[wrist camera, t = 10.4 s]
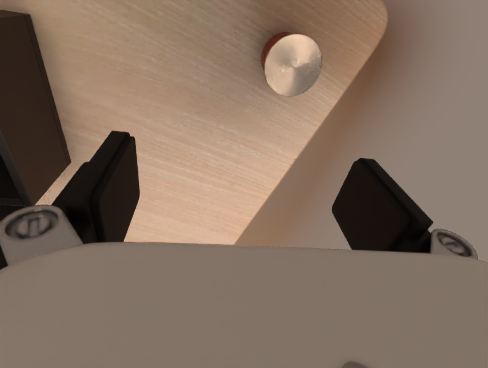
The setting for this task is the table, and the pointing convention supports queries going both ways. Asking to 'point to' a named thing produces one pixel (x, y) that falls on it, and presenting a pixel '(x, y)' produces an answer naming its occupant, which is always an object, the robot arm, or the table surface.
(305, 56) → the coffee pod
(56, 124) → the open dark brown box
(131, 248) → the robot arm
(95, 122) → the table surface
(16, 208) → the lid
